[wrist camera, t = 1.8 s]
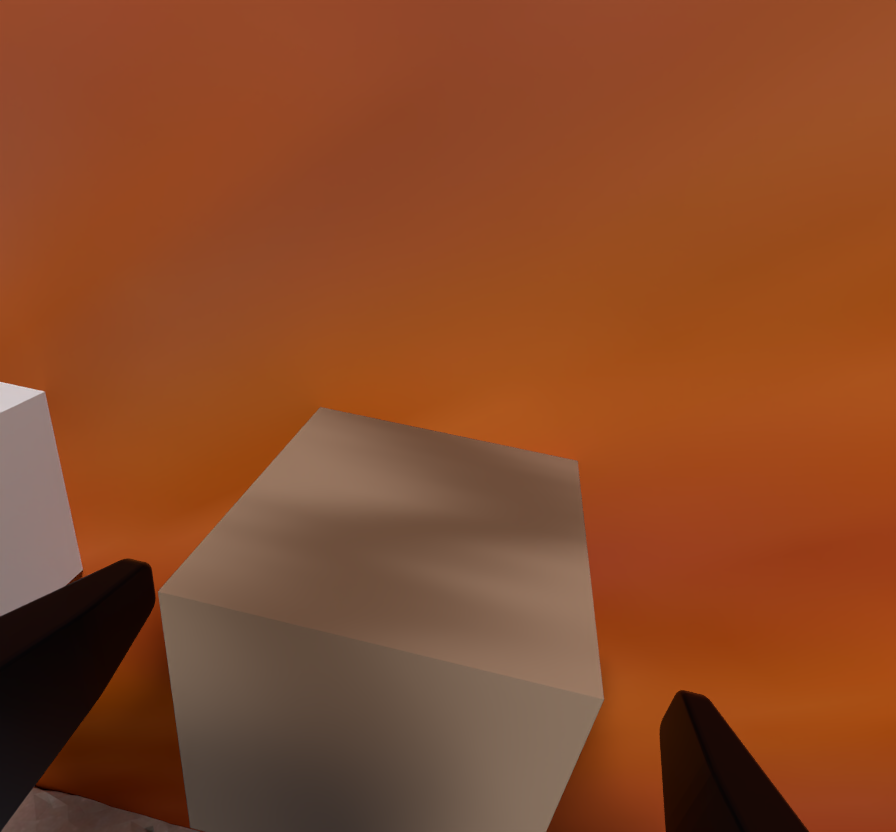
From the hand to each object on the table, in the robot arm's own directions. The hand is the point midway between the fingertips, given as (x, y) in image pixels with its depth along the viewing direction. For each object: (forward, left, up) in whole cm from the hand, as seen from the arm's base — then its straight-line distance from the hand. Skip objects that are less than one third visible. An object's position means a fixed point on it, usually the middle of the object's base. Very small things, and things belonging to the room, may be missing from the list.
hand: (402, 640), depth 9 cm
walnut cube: (0, 0, -3) cm, 3 cm away
